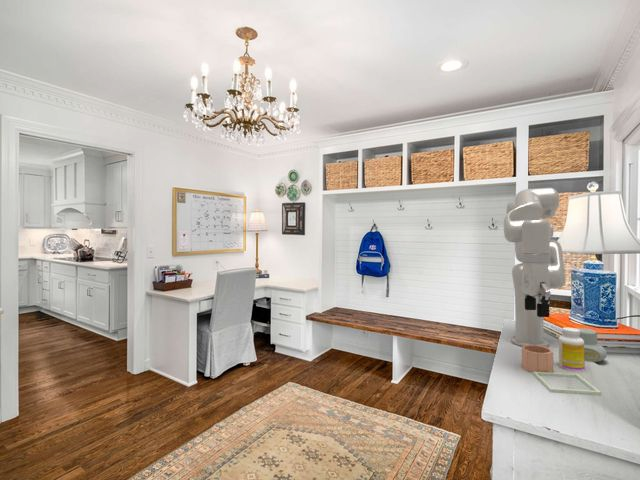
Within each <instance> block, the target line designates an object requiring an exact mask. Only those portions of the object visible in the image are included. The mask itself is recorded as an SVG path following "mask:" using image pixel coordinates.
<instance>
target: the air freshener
mask: <svg viewBox="0 0 640 480" xmlns="http://www.w3.org/2000/svg"><path fill="white" fill-rule="evenodd" d="M578 329H579V330H580V335H579V337H580V338H582V339H583V341H584V362H591V363H592V362H593V363H599V362H602V361H604V360H605V359H606V358H607V355H608V353H607V352H608V351H607V350H606V349H605V347H604V346H602V345H601V344H599V343H598V333H597V331H596V330H594V329H590V328H584V327H583V328H578Z"/></svg>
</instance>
